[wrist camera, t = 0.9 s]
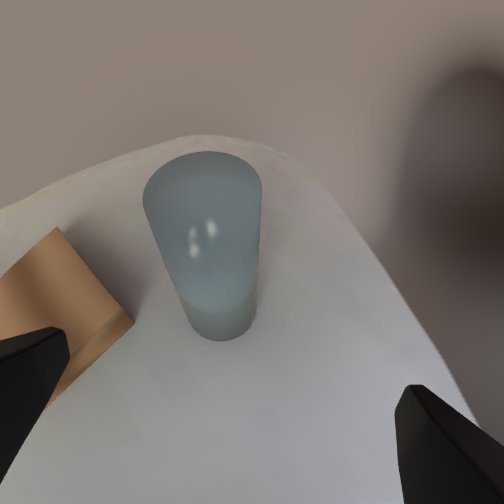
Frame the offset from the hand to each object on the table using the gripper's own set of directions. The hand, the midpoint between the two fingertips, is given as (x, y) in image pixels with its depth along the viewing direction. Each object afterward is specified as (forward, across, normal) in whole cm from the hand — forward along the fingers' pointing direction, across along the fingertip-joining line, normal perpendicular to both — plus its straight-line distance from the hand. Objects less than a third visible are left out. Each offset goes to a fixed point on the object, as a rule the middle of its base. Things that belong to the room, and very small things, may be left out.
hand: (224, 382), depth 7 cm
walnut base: (+12, +17, +9) cm, 23 cm away
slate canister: (+16, +3, +6) cm, 17 cm away
